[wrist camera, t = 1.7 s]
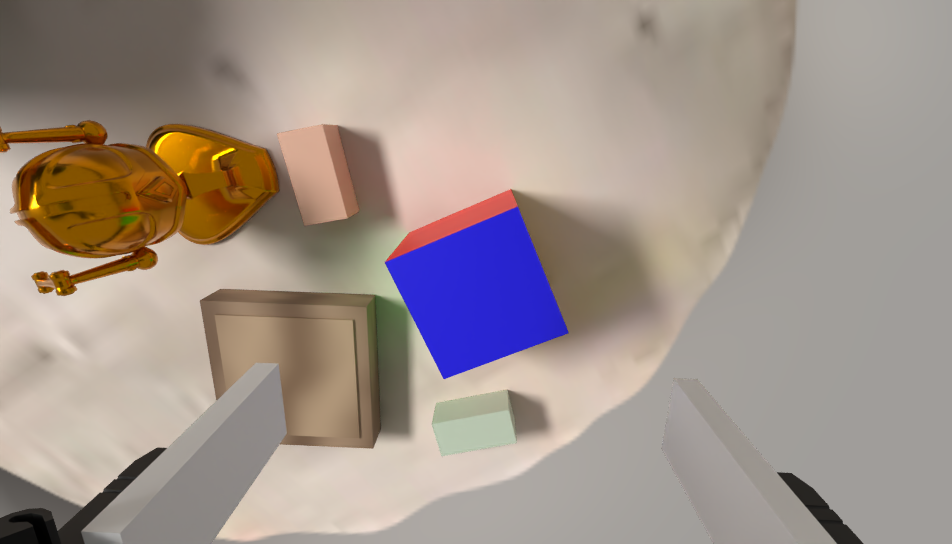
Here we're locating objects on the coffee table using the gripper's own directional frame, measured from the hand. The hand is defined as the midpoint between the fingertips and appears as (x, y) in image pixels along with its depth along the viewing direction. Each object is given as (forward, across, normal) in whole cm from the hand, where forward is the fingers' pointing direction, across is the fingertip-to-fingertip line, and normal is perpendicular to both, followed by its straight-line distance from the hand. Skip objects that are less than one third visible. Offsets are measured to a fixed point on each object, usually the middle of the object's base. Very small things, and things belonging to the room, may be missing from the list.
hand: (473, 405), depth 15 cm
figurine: (+19, -20, +5) cm, 28 cm away
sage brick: (+19, 0, -13) cm, 23 cm away
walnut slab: (+19, -14, -9) cm, 25 cm away
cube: (+19, 0, 0) cm, 19 cm away
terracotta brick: (+19, -11, +6) cm, 23 cm away
